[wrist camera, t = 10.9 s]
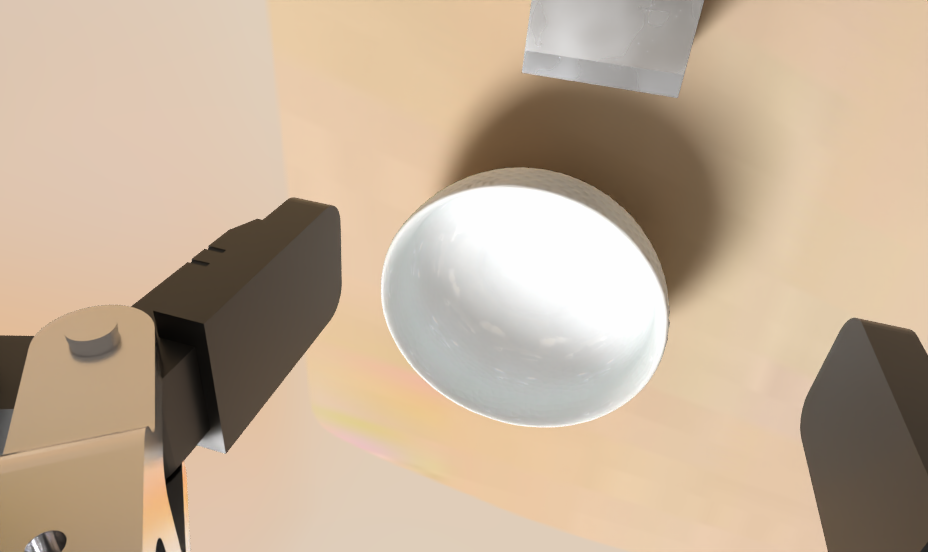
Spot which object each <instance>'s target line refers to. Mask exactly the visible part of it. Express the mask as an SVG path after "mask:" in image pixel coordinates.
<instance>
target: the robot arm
mask: <svg viewBox="0 0 928 552" xmlns="http://www.w3.org/2000/svg"><path fill="white" fill-rule="evenodd" d="M341 286H342V278H341V228H340V215H339V211H338V209H337V208H336V207H335V206H332V205H327V204H322V203H318V202H313V201H308V200H304V199H299V198H289V199H288V200H286V201H285V202H284V203H283V204H282V205H280V206H279V207H278V208H277V209H276V210H274V211H273V212H272V213H271V214H269V215H268V216H267V217H266V218H265V219H263V220H260V219H256V220H253V221H251V222H248V223H246V224H243V225H241V226H238V227H235V228H233V229H230V230H228V231H227V232H226V233H224V234H223V235H222V236H221V237H220V238H218V239H217V240H216V241H214V242H213V243H212V244H211V245H209V248H208V250H207V249H204V250H203V251H201V252H200V253H199V254H198V255H196V256H195V257H194V258H193V259H192V262H191V263H188V262H187V263H186V264H185V265H184V266H182V267H181V268H180V269H179V270H177V271H176V272H175V273H173V274H172V275H171V276H170V277H168V278H167V279H166V280H164V281H163V282H162V283H161V284H159V285H158V286H157V287H155V288H154V289H153V290H152V291H150V292H149V293H148V294H147V295H145V296H144V297H143V298H142V299H140V300H139V301H138V302H136V303H135V304H134V305H133V306H131V307H129V306H123V305H102V306H94V307H88V308H84V309H80V310H77V311H74V312H71V313H68V314H66V315H63V316H61V317H59V318H57V319H55V320H54V321H52V322H50V323H49V324H47V325H46V326H45V327H43V328H42V329H41V330H40V331H39V332H38V333H37V334H36V335H35V336H0V552H191V550H190V530H189V512H188V491H187V472H186V467H185V462H184V460H185V459H186V457H187V456H188V455H189V454H190V453H191V451H192V450H193V449H194V448H195V447H196V446H201V447H204V448H207V449H211V450H214V451H218V452H221V453H224V454H226V453H227V452H228V450H229V449H230V448H231V446H232V445H233V444H234V443H235V441H236V440H237V439H238V438H239V436H240V435H241V434H242V432H243V431H244V430H245V429H246V427H247V426H248V425H249V423H250V422H251V421H252V420H253V418H254V417H255V416H256V415H257V413H258V412H259V411H260V409H261V408H262V407H263V406H264V404H265V403H266V402H267V400H268V399H269V398H270V396H271V395H272V394H273V393H274V392H275V390H276V389H277V388H278V386H279V385H280V384H281V383H282V381H283V380H284V378H285V377H286V376H287V375H288V374H289V372H290V371H291V370H292V368H293V367H294V366H295V365H296V363H297V362H298V361H299V360H300V358H301V357H302V356H303V354H304V353H305V352H306V351H307V349H308V348H309V347H310V345H311V344H312V343H313V342H314V340H315V339H316V338H317V336H318V335H319V334H320V333H321V331H322V330H323V329H324V328H325V326H326V325H327V324H328V322H329V321H330V320H331V318H332V317H333V315H334V313H335V311H336V308H337V306H338V303H339V299H340V294H341ZM800 431H801V438H802V443H803V447H804V451H805V455H806V460H807V464H808V468H809V473H810V477H811V481H812V485H813V490H814V494H815V498H816V502H817V507H818V511H819V515H820V519H821V524H822V528H823V532H824V536H825V541H826V545H827V549H828V552H928V355H927V353H926V351H925V349H924V348H923V346H922V344H921V342H920V340H919V338H918V337H917V335H916V334H915V332H913V331H912V330H910V329H905V328H901V327H896V326H891V325H886V324H882V323H877V322H872V321H868V320H863V319H858V318H852V319H850V320H848V321H847V322H846V323H845V324H844V326H843V327H842V329H841V330H840V332H839V334H838V336H837V338H836V340H835V342H834V344H833V346H832V348H831V350H830V352H829V353H828V355H827V357H826V359H825V361H824V363H823V365H822V367H821V369H820V371H819V373H818V375H817V377H816V379H815V381H814V383H813V385H812V387H811V389H810V391H809V392H808V395H807V397H806V399H805V402H804V405H803V409H802V415H801V424H800Z"/></svg>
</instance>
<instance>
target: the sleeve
mask: <svg viewBox="0 0 928 552" xmlns="http://www.w3.org/2000/svg"><path fill="white" fill-rule="evenodd" d="M703 3H704V0H532V2H531V9H530V17H529V24H528V31H527V39H526V46H525V54H524V61H523V69H522V73H527V74H533V75H539V76H545V77H551V78H558V79H564V80H570V81H576V82H582V83H588V84H594V85H601V86H607V87H613V88H619V89H625V90H631V91H638V92H644V93H650V94H656V95H662V96H668V97H675V98H678V95H679V92H680V88H681V84H682V80H683V77H684V73H685V69H686V66H687V62H688V58H689V55H690V51H691V47H692V44H693V40H694V36H695V33H696V29H697V25H698V21H699V18H700V14H701V10H702V7H703Z"/></svg>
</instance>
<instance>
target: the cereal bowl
mask: <svg viewBox="0 0 928 552" xmlns="http://www.w3.org/2000/svg"><path fill="white" fill-rule="evenodd" d="M381 298H382V307H383V312H384V316H385V319H386V322H387V325H388V328H389V330H390V333H391V335H392V337H393V339H394V341H395V343H396V345H397V346H398V348H399V350H400V351H401V353H402V354H403V356H404V357H405V359H406V360H407V361H408V363H409V364H410V365H411V366H412V368H413V369H414V370H415V371H416V372H417V373H418V374H419V375H420V376H421V377H422V378H423V379H424V380H425V381H426V382H427V383H428V384H429V385H431V386H432V387H433V388H434V389H435V390H437V391H438V392H440V393H441V394H442V395H444V396H445V397H447V398H448V399H450V400H451V401H453V402H454V403H456V404H458V405H460V406H462V407H464V408H466V409H468V410H470V411H472V412H475V413H477V414H480V415H482V416H485V417H488V418H491V419H494V420H497V421H501V422H505V423H509V424H514V425H520V426H529V427H561V426H569V425H574V424H579V423H583V422H587V421H591V420H594V419H596V418H599V417H601V416H604V415H606V414H608V413H610V412H612V411H614V410H616V409H618V408H619V407H621V406H622V405H624V404H625V403H627V402H628V401H630V400H631V399H632V398H633V397H634V396H635V395H637V394H638V393H639V392H640V391H641V390H642V389H643V388H644V386H645V385H646V384H647V383H648V381H649V380H650V379H651V377H652V376H653V374H654V373H655V371H656V369H657V367H658V365H659V363H660V361H661V359H662V356H663V354H664V350H665V347H666V343H667V340H668V329H669V324H670V322H669V313H670V310H669V298H668V290H667V285H666V281H665V276H664V273H663V271H662V266H661V264H660V261H659V259H658V256H657V254H656V252H655V250H654V248H653V246H652V245H651V242H650V240H649V239H648V238H647V236H646V235H645V234H644V232H643V230H642V229H641V227H640V226H639V225H638V224H637V223H636V222H635V220H634V218H633V217H631V215H630V214H629V213H628V212H626V211H625V209H624V208H623V207H621V206H620V205H619V204H618V203H617V202H615V201H614V200H613V199H611V197H610V196H608V195H606V194H604V193H603V192H602V191H600V190H598V189H596V188H595V187H594V186H591V185H589V184H587V183H586V182H583V181H581V180H579V179H576V178H573V177H571V176H569V175H565V174H563V173H558V172H553V171H551V170H545V169H536V168H526V167H520V168H503V169H496V170H491V171H487V172H481V173H478V174H476V175H472V176H468V177H467V178H465V179H462V180H459V181H457V182H455V183H453V184H451V185H450V186H447V187H445V188H444V189H443V190H441V191H439V192H437V193H436V194H435V195H434V196H433V197H431V198H429V199H428V200H427V201H426V202H425V203H424V204H423V205H421V206H420V207H419V208H418V209H417V210H416V211H415V212H414V213H413V214H412V215H411V216H410V217H409V218H408V219H407V220H406V222H405V223H404V224H403V226H402V227H401V228H400V230H399V231H398V232H397V233H396V235H395V237H394V239H393V241H392V243H391V245H390V247H389V249H388V252H387V254H386V257H385V261H384V266H383V271H382V278H381Z"/></svg>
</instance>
